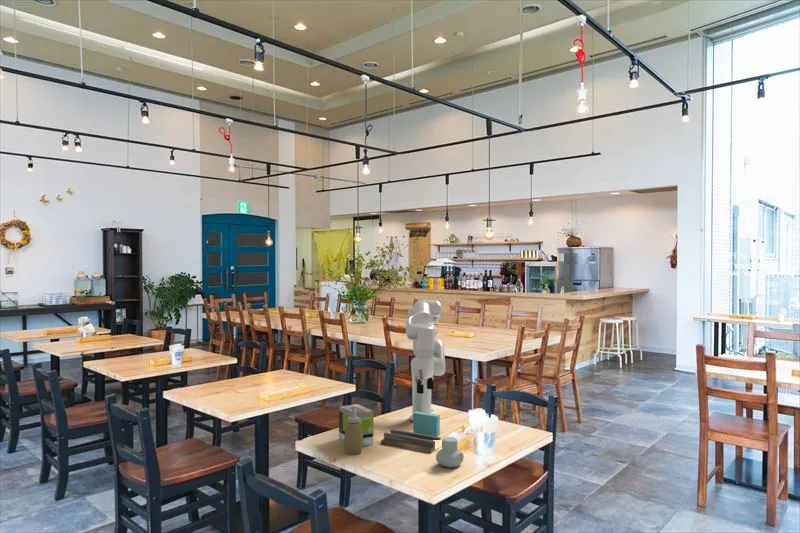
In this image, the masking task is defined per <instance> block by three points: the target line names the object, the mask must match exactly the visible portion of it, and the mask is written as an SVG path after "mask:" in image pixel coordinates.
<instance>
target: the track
mask: <svg viewBox="0 0 800 533" xmlns="http://www.w3.org/2000/svg"><path fill="white" fill-rule="evenodd" d="M433 440H441V436H440V437H435V436H430V435H424V434H418V433H413V431H412V432H411V431H407V430H406V431H405V430H400V429H395V428H391V429H390V432H386V431H385V432H384V433H383V439H380V444H381V445H384V446H385V445H386V446H390V447H395V448H401V449H406V450H410V451H411V450H412V451H417V452H422V453H427V454H433V453H434V452H435V451H436V450H435V441H433ZM441 441H442V440H441Z"/></svg>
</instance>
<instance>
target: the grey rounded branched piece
mask: <svg viewBox="0 0 800 533" xmlns="http://www.w3.org/2000/svg"><path fill="white" fill-rule="evenodd" d="M441 441H442V446H441V449H438V451H437V453H436V455H435V460H436V462H437V463H438V465H440V466H441V467H445V468H457V467H459V466H460V465H462V463H463V462H464V454H463V452H462V451H461V450H460V449H458V448H459V447H458V445H459V444H458V439H457V438H456V437H452V436H446V437H443V438H442V440H441Z"/></svg>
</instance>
